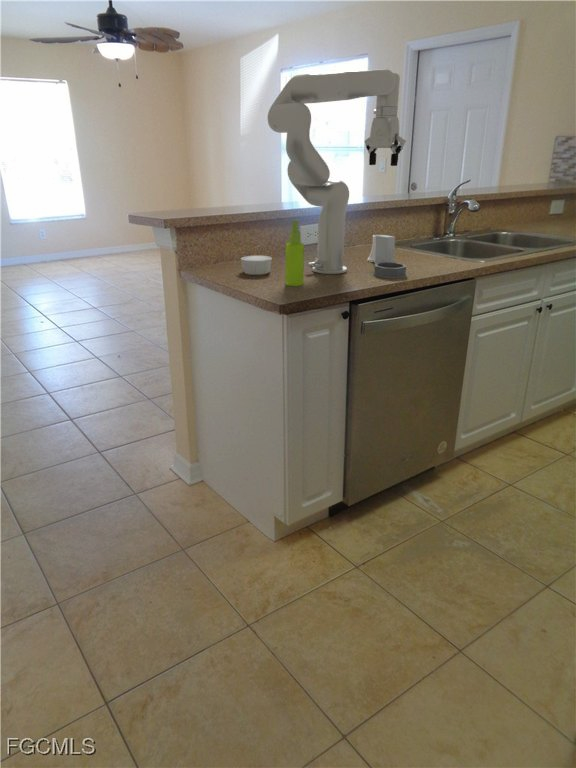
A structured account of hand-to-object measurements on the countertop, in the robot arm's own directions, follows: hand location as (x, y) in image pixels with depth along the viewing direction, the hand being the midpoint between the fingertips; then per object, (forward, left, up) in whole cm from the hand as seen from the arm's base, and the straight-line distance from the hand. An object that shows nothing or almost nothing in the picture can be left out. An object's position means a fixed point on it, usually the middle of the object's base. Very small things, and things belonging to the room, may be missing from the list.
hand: (382, 165), depth 200 cm
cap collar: (-11, -17, -36) cm, 41 cm away
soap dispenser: (-47, -7, -36) cm, 59 cm away
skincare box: (-5, -8, -36) cm, 37 cm away
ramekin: (-47, +15, -36) cm, 61 cm away
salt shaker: (+4, +4, -36) cm, 36 cm away
